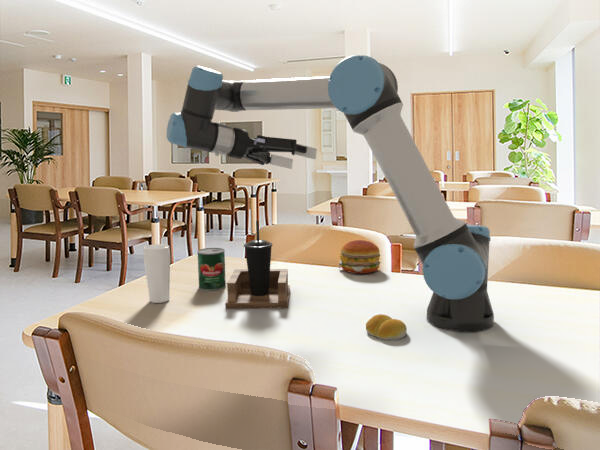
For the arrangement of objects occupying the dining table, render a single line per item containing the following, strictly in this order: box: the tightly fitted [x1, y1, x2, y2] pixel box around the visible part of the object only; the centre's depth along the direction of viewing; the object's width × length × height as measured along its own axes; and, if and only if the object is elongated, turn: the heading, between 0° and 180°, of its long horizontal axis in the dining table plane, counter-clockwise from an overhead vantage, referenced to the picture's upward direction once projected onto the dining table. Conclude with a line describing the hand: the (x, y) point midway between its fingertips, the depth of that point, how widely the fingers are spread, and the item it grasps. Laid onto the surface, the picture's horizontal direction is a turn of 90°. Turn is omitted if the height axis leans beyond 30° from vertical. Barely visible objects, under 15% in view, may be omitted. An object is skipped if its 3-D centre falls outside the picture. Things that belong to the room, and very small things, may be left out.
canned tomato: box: [196, 247, 227, 292], centre depth 153 cm, size 8×8×11 cm
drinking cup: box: [243, 220, 273, 296], centre depth 140 cm, size 8×8×20 cm
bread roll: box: [365, 314, 408, 341], centre depth 116 cm, size 8×9×4 cm
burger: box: [338, 239, 382, 274], centre depth 170 cm, size 13×14×10 cm
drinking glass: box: [143, 243, 171, 304], centre depth 140 cm, size 7×7×15 cm
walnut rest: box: [224, 268, 291, 310], centre depth 142 cm, size 16×16×6 cm
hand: (303, 159), depth 142 cm, fingers open, 13 cm apart
